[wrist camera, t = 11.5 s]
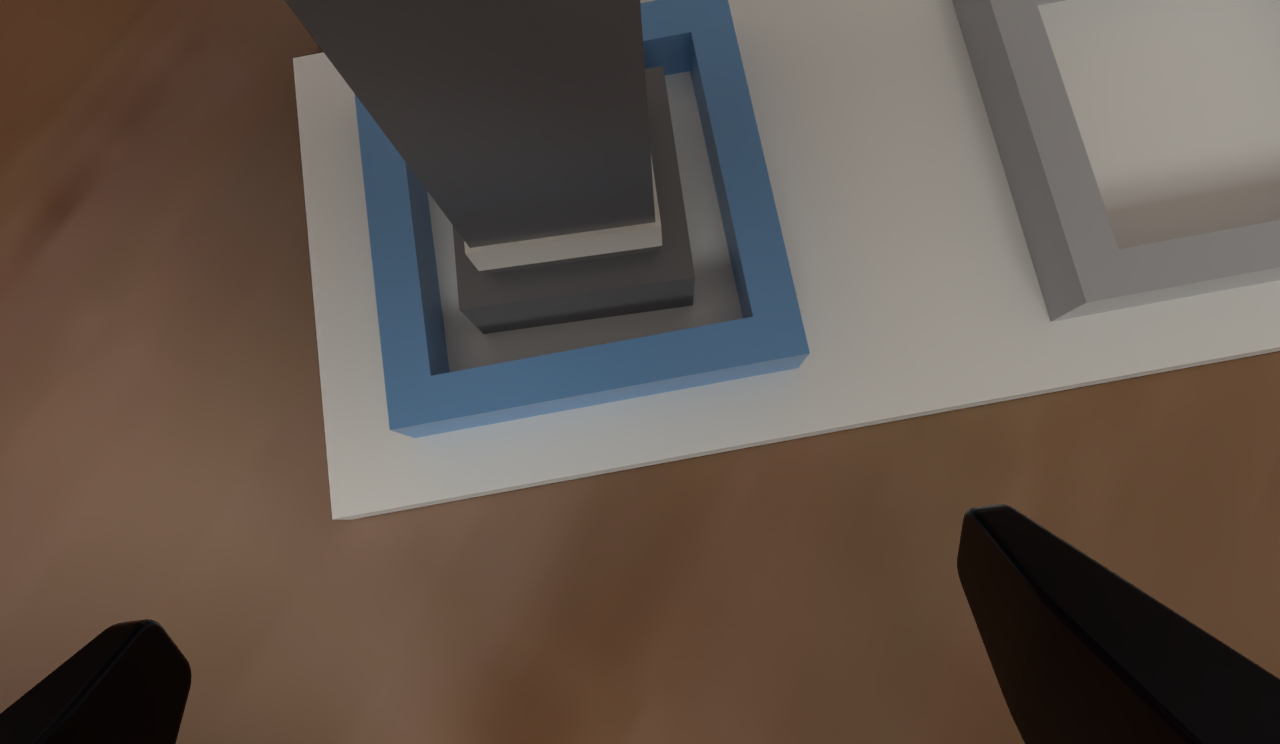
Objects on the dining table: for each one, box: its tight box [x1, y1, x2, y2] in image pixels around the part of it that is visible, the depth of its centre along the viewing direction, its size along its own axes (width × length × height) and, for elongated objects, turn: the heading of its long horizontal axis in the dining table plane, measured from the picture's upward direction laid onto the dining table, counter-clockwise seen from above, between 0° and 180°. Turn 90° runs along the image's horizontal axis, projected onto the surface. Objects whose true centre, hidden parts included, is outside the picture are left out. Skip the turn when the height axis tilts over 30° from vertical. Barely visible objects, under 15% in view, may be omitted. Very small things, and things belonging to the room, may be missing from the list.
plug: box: [285, 0, 695, 334], centre depth 11 cm, size 5×5×13 cm
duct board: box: [293, 0, 1280, 520], centre depth 18 cm, size 28×12×2 cm, turn 100°
